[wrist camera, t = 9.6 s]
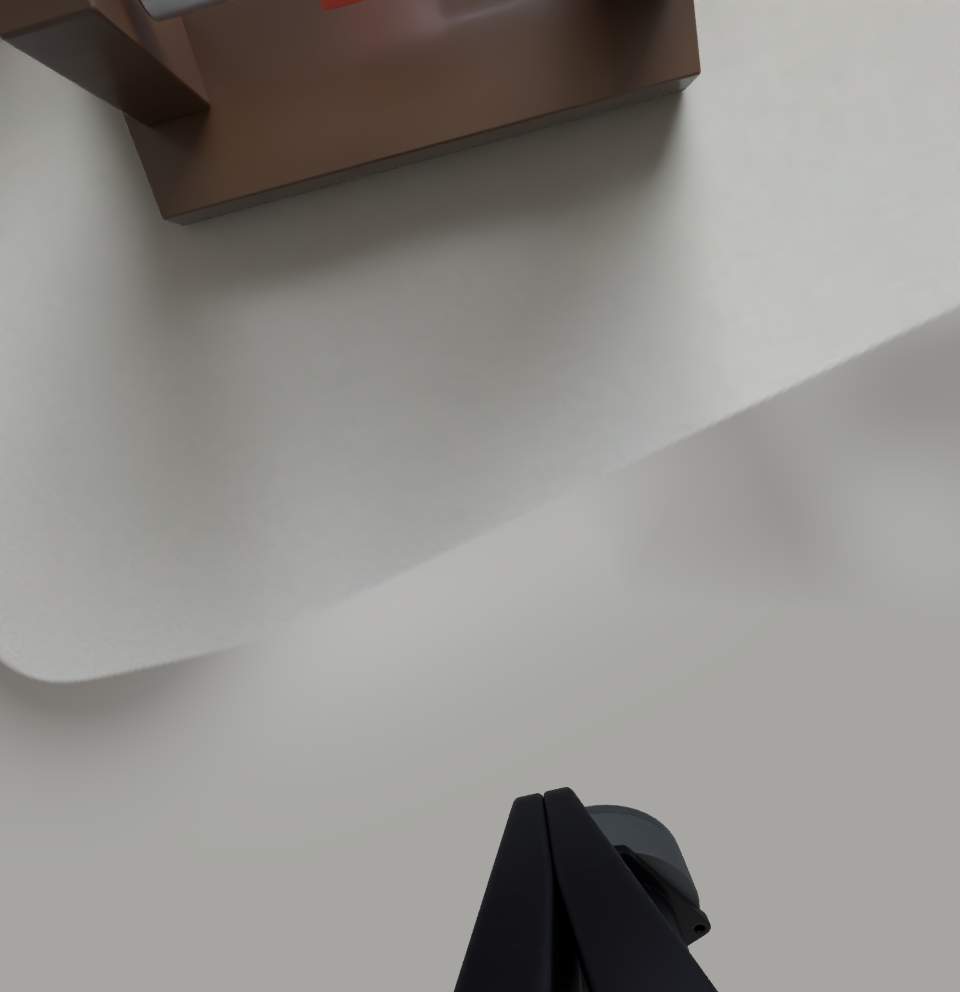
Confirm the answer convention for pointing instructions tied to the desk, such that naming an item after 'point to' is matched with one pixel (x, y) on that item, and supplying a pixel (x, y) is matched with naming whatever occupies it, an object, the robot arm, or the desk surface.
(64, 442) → the desk surface
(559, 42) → the foosball stand
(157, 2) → the red foosball player
